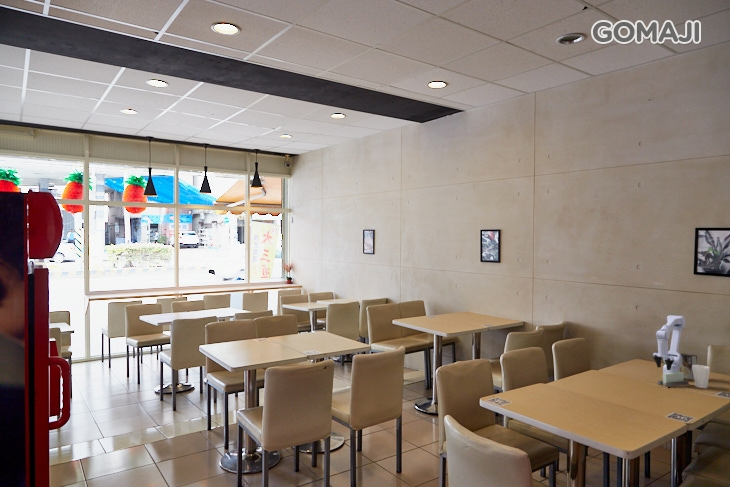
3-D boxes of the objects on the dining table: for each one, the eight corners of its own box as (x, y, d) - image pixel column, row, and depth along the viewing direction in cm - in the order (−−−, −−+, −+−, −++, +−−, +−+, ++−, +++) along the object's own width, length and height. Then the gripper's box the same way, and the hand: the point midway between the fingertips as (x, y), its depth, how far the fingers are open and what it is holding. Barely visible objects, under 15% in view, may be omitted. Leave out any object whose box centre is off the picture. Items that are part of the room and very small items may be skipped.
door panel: (663, 384, 307) (662, 373, 307) (680, 382, 310) (679, 371, 310) (666, 385, 304) (665, 374, 305) (683, 383, 308) (683, 372, 308)
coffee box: (698, 378, 320) (697, 355, 320) (693, 380, 317) (692, 356, 318) (684, 375, 328) (683, 352, 329) (679, 376, 326) (678, 354, 326)
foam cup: (710, 389, 295) (709, 369, 296) (692, 387, 301) (691, 367, 301) (710, 385, 303) (709, 366, 303) (693, 383, 309) (692, 364, 309)
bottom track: (656, 384, 310) (656, 380, 310) (678, 381, 314) (678, 378, 314) (668, 388, 301) (668, 384, 301) (690, 385, 305) (690, 381, 305)
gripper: (649, 346, 320) (650, 366, 319) (667, 351, 305) (668, 371, 305) (657, 346, 321) (658, 365, 321) (676, 350, 307) (677, 370, 307)
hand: (663, 368), depth 313 cm, fingers open, 7 cm apart
